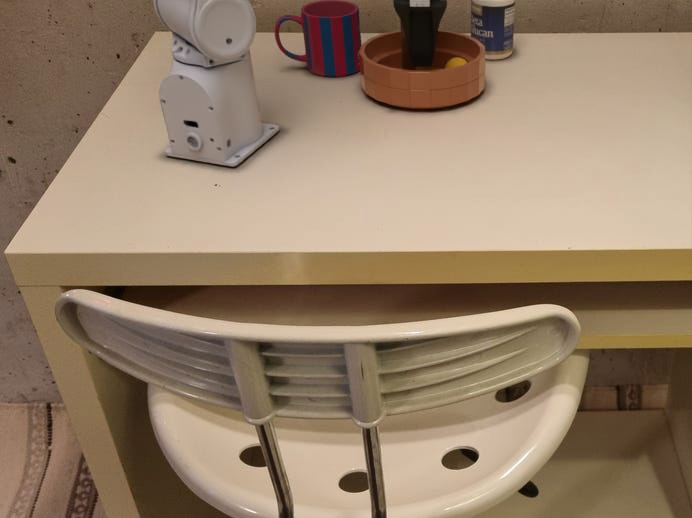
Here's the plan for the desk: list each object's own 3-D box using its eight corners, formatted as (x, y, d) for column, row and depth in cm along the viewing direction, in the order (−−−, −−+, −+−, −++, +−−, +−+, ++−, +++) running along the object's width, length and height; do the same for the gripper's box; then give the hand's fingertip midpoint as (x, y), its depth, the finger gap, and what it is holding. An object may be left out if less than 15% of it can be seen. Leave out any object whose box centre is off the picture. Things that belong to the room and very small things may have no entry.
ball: (449, 70, 99) (472, 81, 99) (438, 83, 97) (461, 94, 97) (453, 48, 97) (477, 59, 96) (442, 60, 95) (465, 71, 95)
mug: (364, 76, 101) (359, 16, 96) (279, 79, 100) (270, 19, 95) (361, 56, 106) (357, -1, 101) (281, 59, 105) (273, 1, 100)
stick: (430, 88, 97) (428, 5, 91) (395, 91, 96) (392, 7, 90) (423, 75, 100) (421, -6, 94) (389, 78, 99) (385, -4, 93)
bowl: (461, 120, 92) (462, 79, 89) (342, 103, 95) (338, 62, 92) (499, 75, 102) (500, 36, 99) (390, 60, 105) (388, 23, 102)
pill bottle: (462, 55, 107) (463, -28, 100) (482, 43, 110) (484, -38, 104) (501, 63, 105) (503, -21, 98) (519, 50, 108) (523, -32, 102)
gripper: (459, -62, 82) (459, 78, 90) (456, -95, 92) (456, 33, 101) (386, -63, 81) (393, 78, 90) (391, -95, 92) (397, 33, 101)
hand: (422, 54), depth 96 cm, fingers open, 6 cm apart
